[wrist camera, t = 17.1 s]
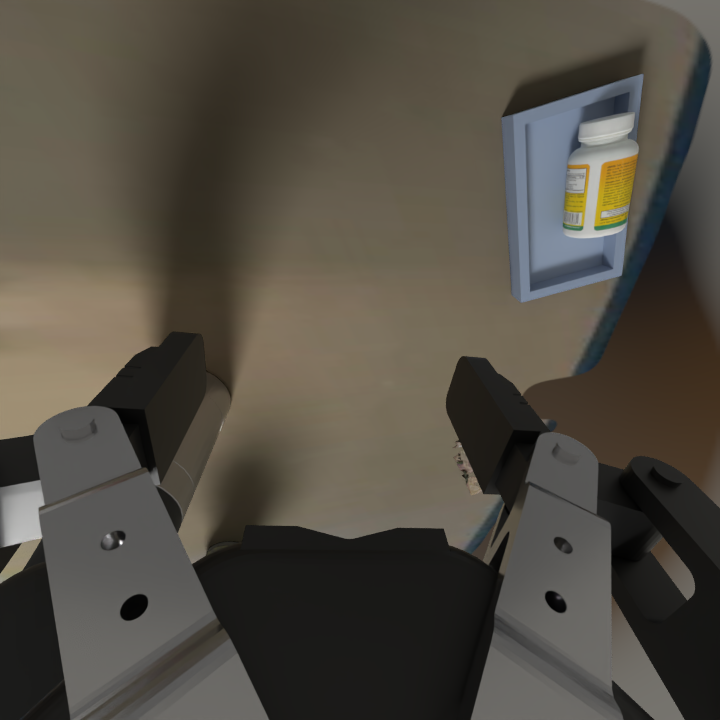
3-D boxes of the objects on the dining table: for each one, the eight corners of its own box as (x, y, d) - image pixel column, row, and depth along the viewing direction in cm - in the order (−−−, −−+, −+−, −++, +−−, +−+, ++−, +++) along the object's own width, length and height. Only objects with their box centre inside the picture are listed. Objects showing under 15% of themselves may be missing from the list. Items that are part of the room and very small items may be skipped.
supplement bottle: (555, 240, 35) (562, 128, 31) (569, 225, 39) (577, 121, 34) (621, 238, 32) (640, 112, 27) (630, 221, 35) (648, 106, 31)
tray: (606, 269, 41) (621, 275, 39) (511, 295, 42) (521, 302, 40) (622, 79, 32) (643, 73, 30) (501, 117, 33) (513, 114, 31)
